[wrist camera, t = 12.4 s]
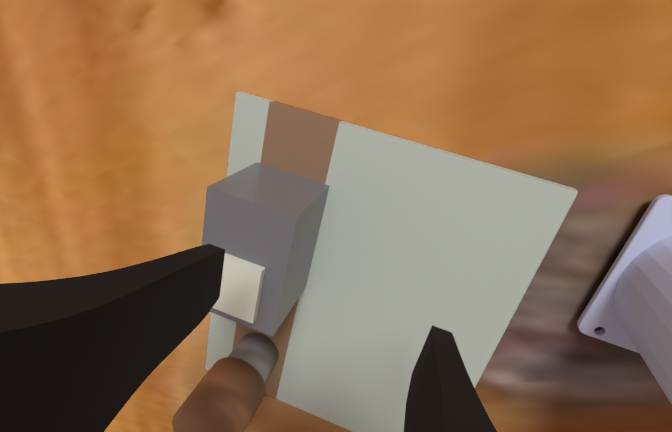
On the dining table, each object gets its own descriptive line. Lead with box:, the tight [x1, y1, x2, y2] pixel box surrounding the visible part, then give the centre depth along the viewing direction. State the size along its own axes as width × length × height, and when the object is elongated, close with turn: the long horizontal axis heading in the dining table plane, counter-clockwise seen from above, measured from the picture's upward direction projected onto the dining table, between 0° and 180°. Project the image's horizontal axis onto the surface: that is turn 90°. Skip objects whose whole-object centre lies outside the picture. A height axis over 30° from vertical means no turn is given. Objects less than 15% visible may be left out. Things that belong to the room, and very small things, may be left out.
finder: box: [202, 162, 330, 337], centre depth 21 cm, size 4×7×5 cm, turn 167°
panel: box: [205, 92, 578, 432], centre depth 25 cm, size 18×21×1 cm
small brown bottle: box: [172, 333, 279, 432], centre depth 25 cm, size 4×4×7 cm
